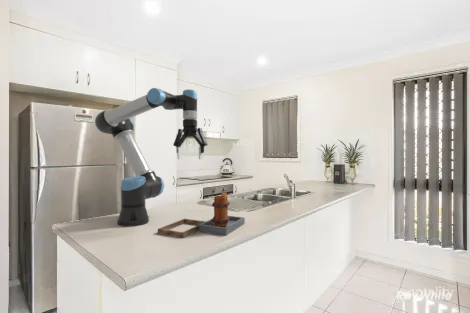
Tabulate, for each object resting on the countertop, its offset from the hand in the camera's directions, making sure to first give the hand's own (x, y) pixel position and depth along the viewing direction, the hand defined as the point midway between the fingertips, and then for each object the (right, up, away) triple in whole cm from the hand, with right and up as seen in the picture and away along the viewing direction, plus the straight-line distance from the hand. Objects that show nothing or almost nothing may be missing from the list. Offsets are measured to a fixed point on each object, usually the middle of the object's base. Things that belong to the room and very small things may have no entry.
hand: (190, 159), depth 135 cm
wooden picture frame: (0, -33, -16) cm, 37 cm away
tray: (+18, -33, -12) cm, 40 cm away
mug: (+18, -32, -12) cm, 39 cm away
